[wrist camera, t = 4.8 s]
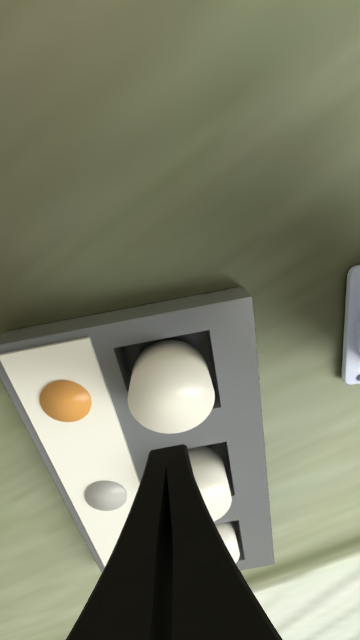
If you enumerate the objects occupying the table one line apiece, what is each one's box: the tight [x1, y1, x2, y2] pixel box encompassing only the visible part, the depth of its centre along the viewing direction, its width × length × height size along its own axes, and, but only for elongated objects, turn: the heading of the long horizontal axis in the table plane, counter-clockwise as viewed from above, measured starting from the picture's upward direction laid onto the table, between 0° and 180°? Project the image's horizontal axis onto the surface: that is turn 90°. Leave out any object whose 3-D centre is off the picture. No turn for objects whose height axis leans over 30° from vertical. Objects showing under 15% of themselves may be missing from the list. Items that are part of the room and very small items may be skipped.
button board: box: [0, 286, 275, 572], centre depth 19 cm, size 14×24×2 cm, turn 10°
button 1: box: [128, 340, 215, 434], centre depth 15 cm, size 4×4×2 cm
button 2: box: [188, 446, 232, 521], centre depth 18 cm, size 4×4×2 cm
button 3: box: [215, 521, 240, 563], centre depth 22 cm, size 4×4×2 cm
